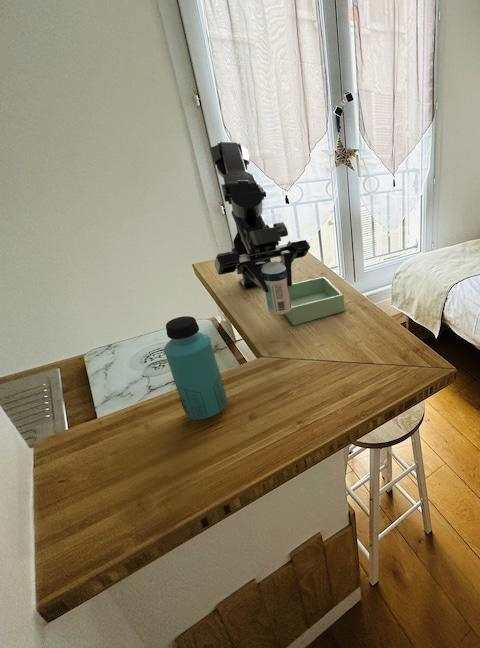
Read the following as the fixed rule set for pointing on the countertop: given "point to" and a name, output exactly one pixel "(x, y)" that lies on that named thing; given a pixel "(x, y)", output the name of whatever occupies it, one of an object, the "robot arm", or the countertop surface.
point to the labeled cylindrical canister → (276, 288)
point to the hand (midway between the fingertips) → (279, 288)
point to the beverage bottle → (194, 369)
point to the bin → (314, 300)
